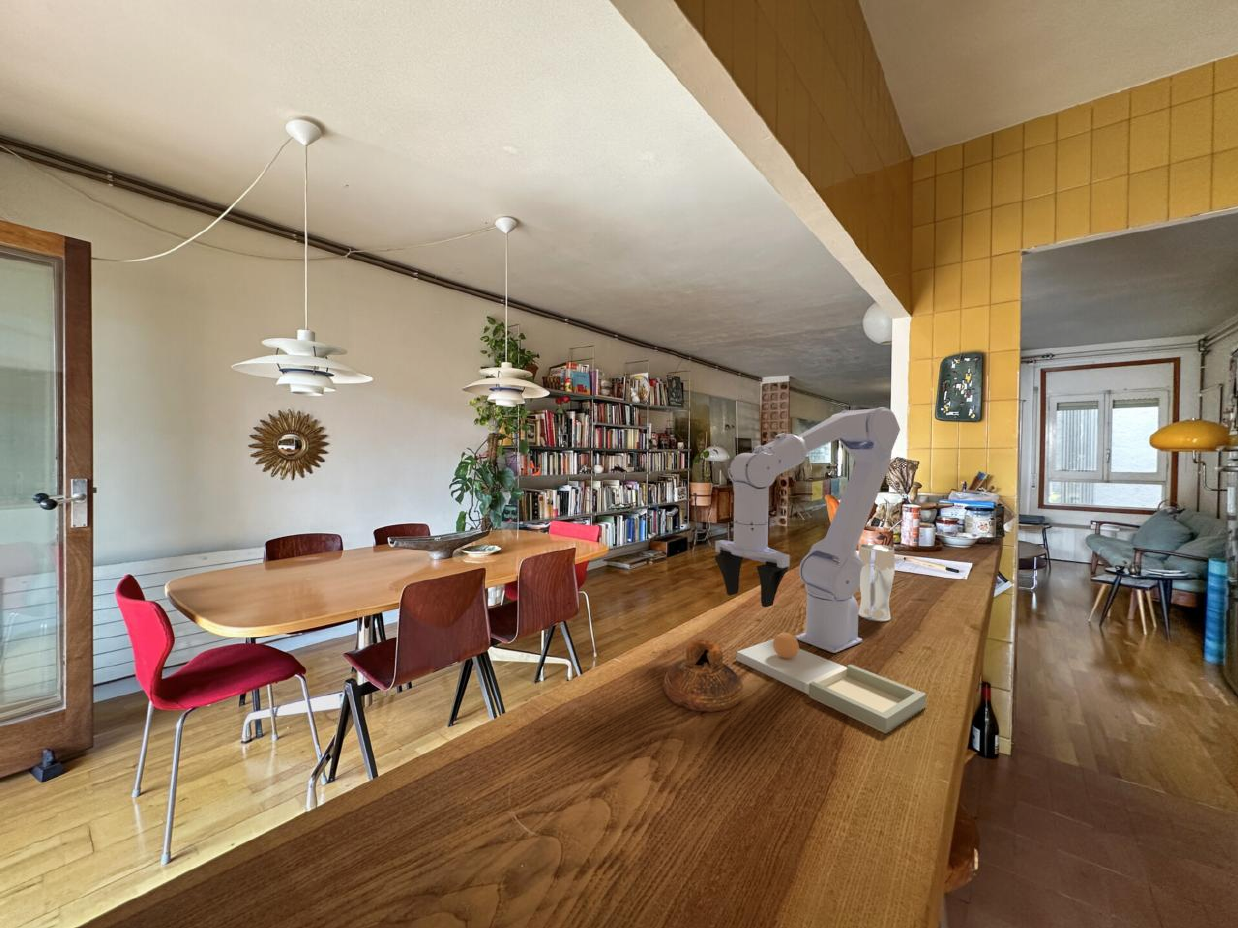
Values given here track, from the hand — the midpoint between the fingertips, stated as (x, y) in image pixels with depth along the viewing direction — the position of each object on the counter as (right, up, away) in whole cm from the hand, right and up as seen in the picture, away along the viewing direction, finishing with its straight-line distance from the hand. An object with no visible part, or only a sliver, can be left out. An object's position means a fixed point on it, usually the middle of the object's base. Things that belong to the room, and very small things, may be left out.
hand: (749, 599), depth 86 cm
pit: (+13, -10, -16) cm, 23 cm away
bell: (-10, -10, -13) cm, 20 cm away
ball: (+5, -6, -5) cm, 9 cm away
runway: (+5, -10, -6) cm, 12 cm away
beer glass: (+32, -9, +19) cm, 38 cm away
